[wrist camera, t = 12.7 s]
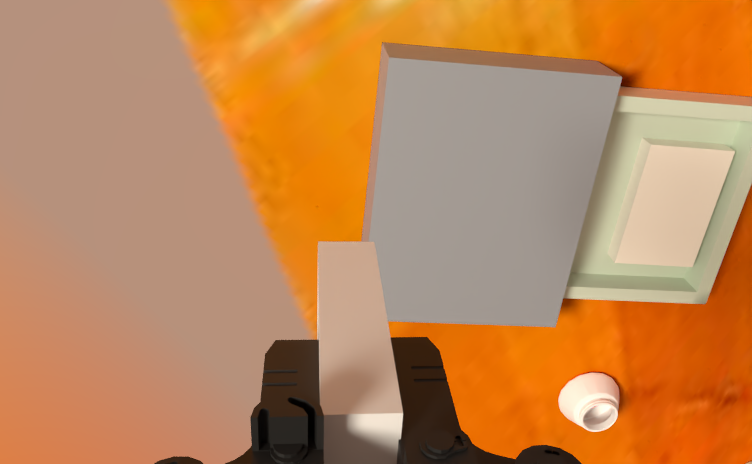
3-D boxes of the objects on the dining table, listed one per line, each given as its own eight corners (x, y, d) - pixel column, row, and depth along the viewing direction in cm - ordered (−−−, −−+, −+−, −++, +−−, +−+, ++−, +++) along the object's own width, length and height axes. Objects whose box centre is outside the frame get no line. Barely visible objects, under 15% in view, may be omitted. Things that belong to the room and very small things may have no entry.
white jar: (553, 377, 56) (560, 421, 58) (565, 402, 53) (572, 447, 56) (613, 363, 56) (617, 407, 58) (628, 386, 53) (631, 432, 56)
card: (735, 151, 46) (724, 144, 47) (651, 144, 45) (642, 137, 46) (692, 267, 50) (683, 257, 51) (614, 262, 49) (607, 253, 50)
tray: (594, 84, 44) (609, 94, 42) (757, 97, 46) (780, 108, 44) (545, 279, 51) (556, 297, 49) (689, 286, 53) (705, 304, 50)
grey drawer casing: (382, 42, 42) (389, 57, 39) (597, 61, 44) (622, 77, 40) (356, 289, 50) (360, 320, 47) (538, 296, 52) (555, 327, 48)
